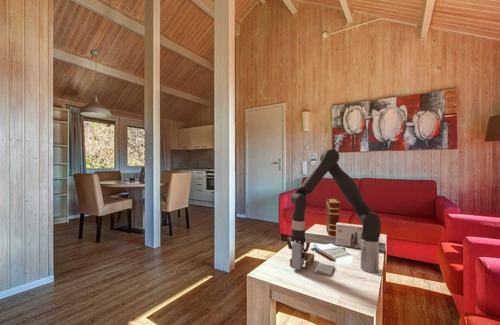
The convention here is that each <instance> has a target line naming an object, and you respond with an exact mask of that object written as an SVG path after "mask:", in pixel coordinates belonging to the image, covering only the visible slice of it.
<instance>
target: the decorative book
mask: <svg viewBox="0 0 500 325" xmlns="http://www.w3.org/2000/svg"><path fill="white" fill-rule="evenodd" d="M340 202H341V201H340V200H339V199H338V198H336V197H334V198H328V197H326V207H325V208H326V215H325V216H326V217H325V218H326V219H325V220H326V224H325V226H326V229H325V230H326V232H327V234H328V237H329V238H331V239H332V238H334V239H336V223H340V214H341V213H340Z"/></svg>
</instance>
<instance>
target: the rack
mask: <svg viewBox="0 0 500 325" xmlns="http://www.w3.org/2000/svg"><path fill="white" fill-rule="evenodd" d="M304 260H305V261H304V270H306V271H308V270H309V269H310V267H311V266H312V264H313V263H314V261H315V253H311V252H308V251H307V252H305V257H304ZM289 266H290V267H292V257H290V259H289Z"/></svg>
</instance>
